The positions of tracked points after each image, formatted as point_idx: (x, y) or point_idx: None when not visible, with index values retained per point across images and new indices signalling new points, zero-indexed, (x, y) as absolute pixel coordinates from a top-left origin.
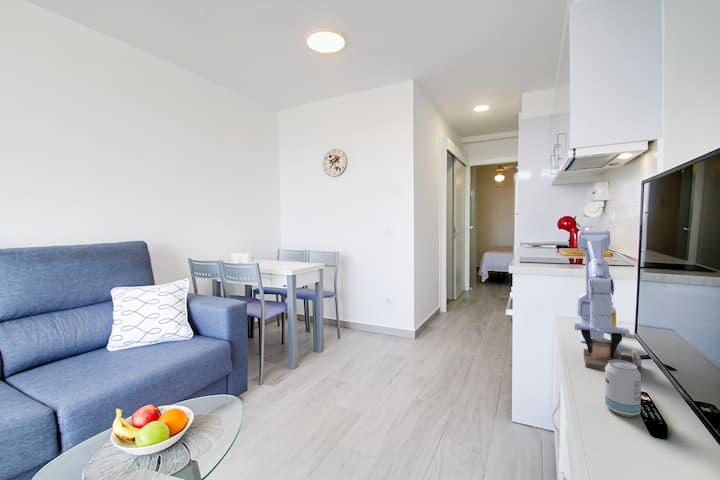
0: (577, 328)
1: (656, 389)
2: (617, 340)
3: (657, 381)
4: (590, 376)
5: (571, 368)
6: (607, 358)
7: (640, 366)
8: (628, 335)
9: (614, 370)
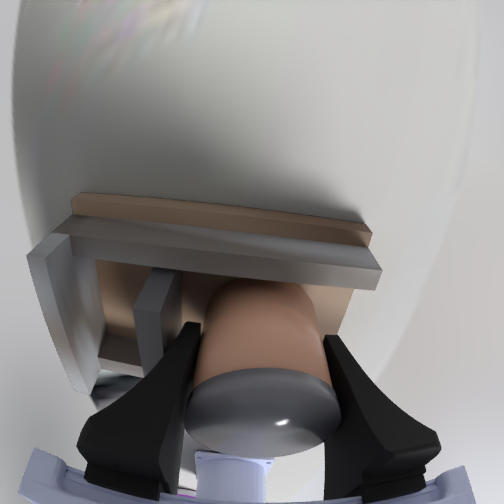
0: (454, 484)
1: (56, 42)
2: (124, 420)
3: (32, 157)
4: (380, 81)
5: (446, 182)
6: (230, 299)
7: (57, 230)
8: (36, 455)
9: None
